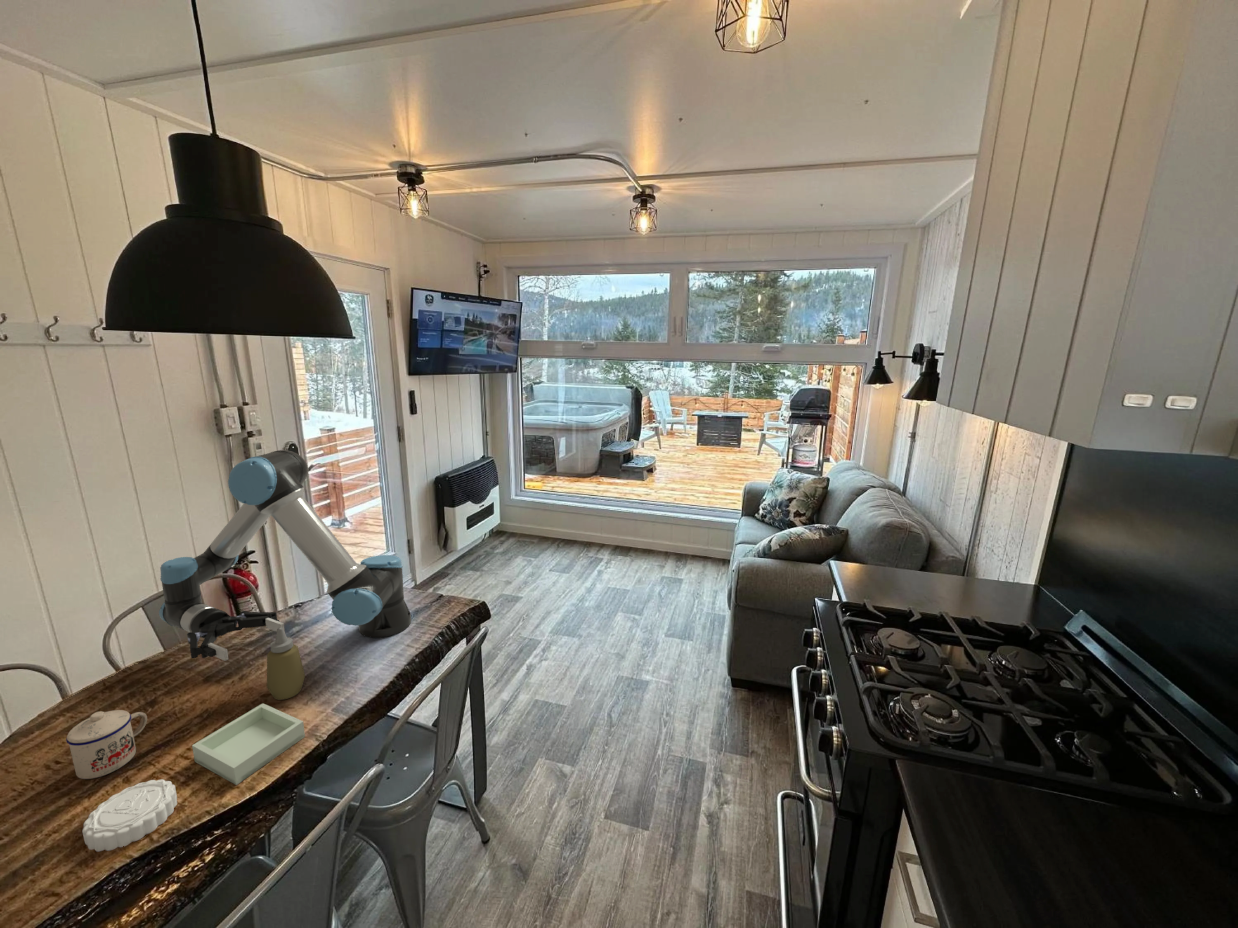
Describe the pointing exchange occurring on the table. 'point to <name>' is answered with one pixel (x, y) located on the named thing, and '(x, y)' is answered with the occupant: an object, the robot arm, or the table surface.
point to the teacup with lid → (103, 742)
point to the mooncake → (129, 815)
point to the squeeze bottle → (284, 667)
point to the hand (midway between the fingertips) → (256, 641)
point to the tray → (248, 743)
